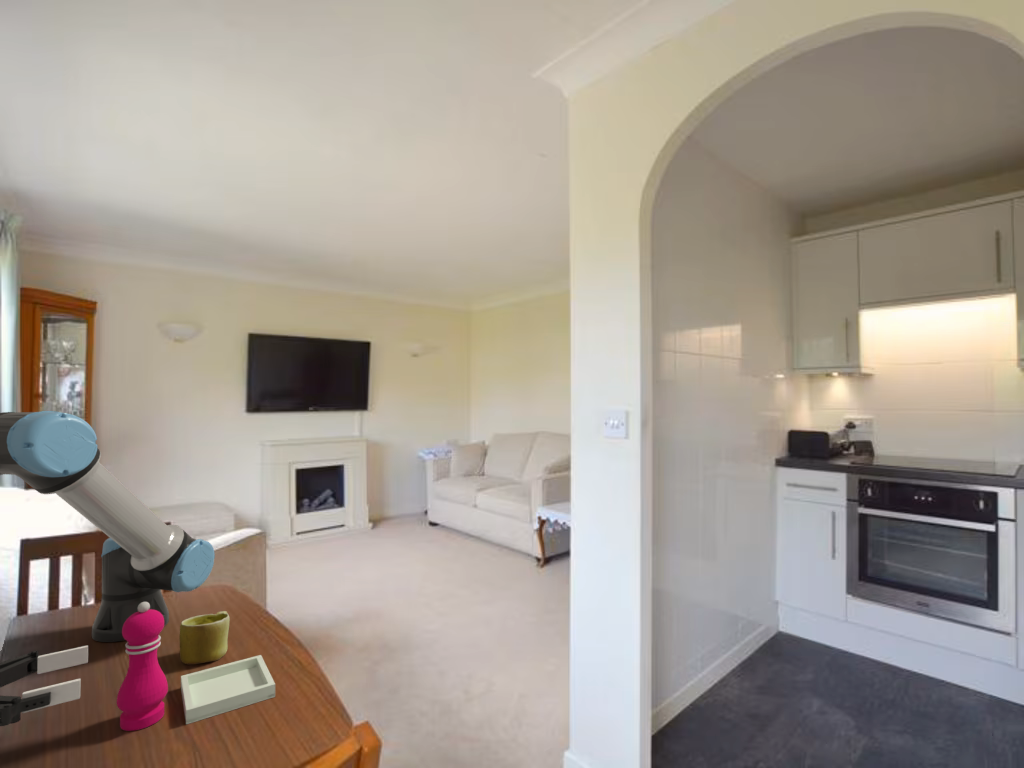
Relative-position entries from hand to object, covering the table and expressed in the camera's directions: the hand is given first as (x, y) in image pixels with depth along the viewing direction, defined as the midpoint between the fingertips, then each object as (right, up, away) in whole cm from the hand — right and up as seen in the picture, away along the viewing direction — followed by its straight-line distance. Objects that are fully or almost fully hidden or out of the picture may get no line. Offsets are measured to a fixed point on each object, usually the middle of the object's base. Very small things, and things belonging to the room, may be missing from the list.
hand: (84, 669), depth 86 cm
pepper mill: (+6, -11, +4) cm, 14 cm away
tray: (+16, -11, +13) cm, 24 cm away
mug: (+4, -12, +28) cm, 31 cm away
